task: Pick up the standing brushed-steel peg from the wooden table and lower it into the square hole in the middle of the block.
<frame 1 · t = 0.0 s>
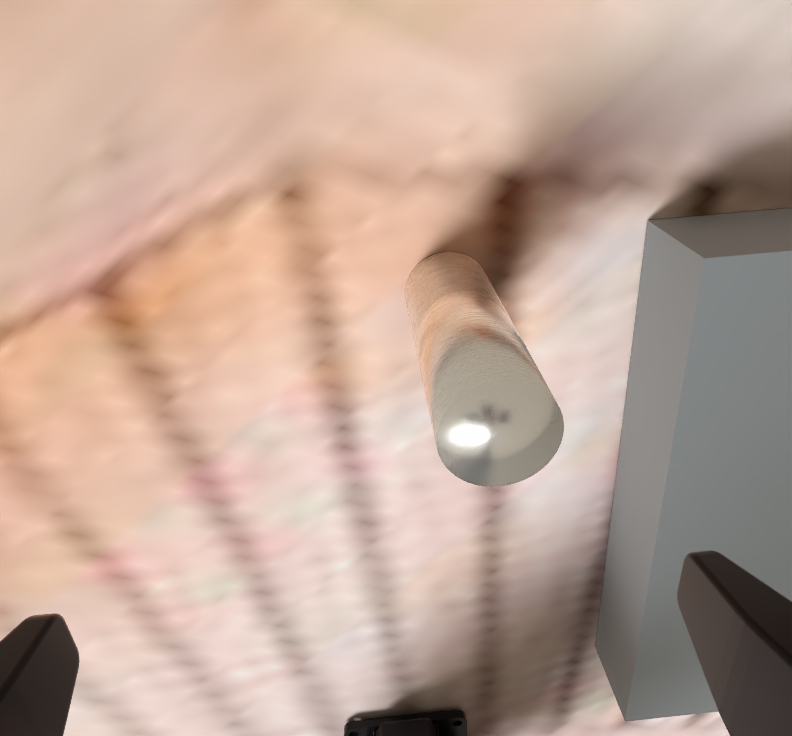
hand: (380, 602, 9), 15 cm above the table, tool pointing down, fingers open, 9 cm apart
steel peg: (447, 292, 23), on the table
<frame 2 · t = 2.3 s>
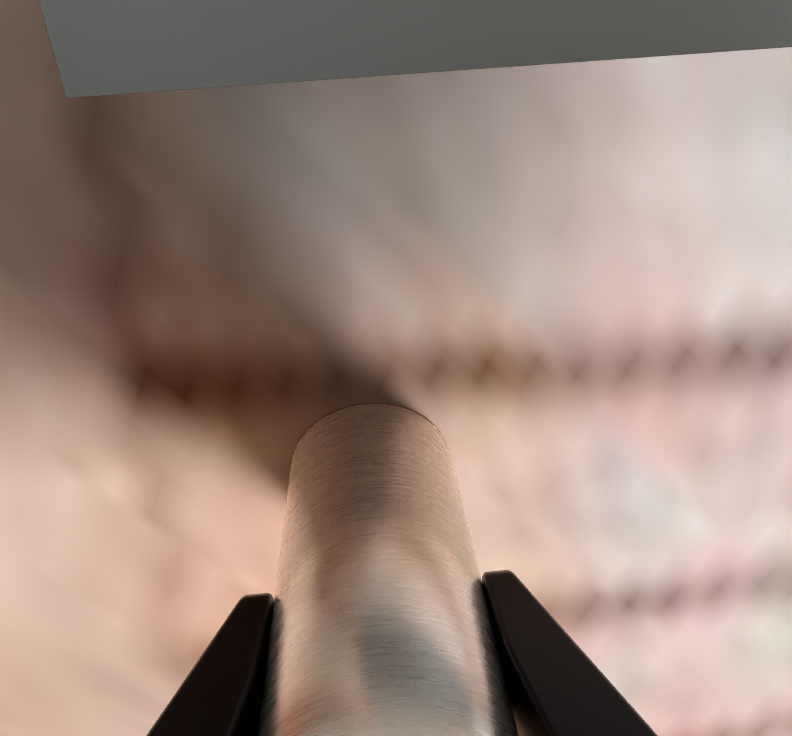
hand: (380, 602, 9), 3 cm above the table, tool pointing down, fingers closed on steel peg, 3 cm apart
steel peg: (372, 472, 12), on the table, touching gripper
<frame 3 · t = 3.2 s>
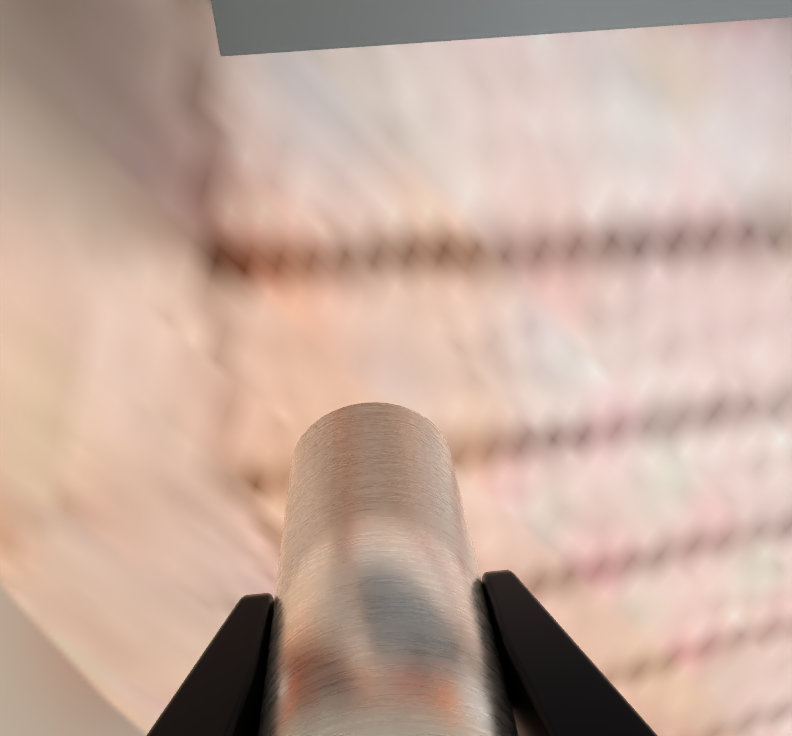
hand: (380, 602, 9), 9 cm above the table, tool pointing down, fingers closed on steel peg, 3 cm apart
steel peg: (372, 471, 12), point 6 cm above the table, touching gripper
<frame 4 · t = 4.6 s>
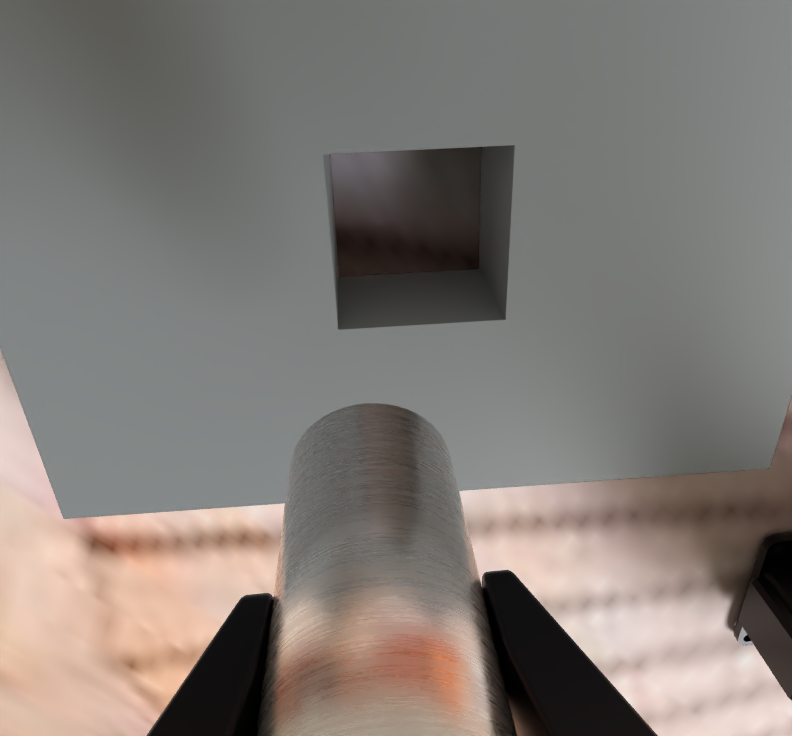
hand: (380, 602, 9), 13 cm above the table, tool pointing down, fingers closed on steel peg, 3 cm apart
hole block: (407, 202, 20), on the table
steel peg: (371, 471, 12), point 10 cm above the table, touching gripper
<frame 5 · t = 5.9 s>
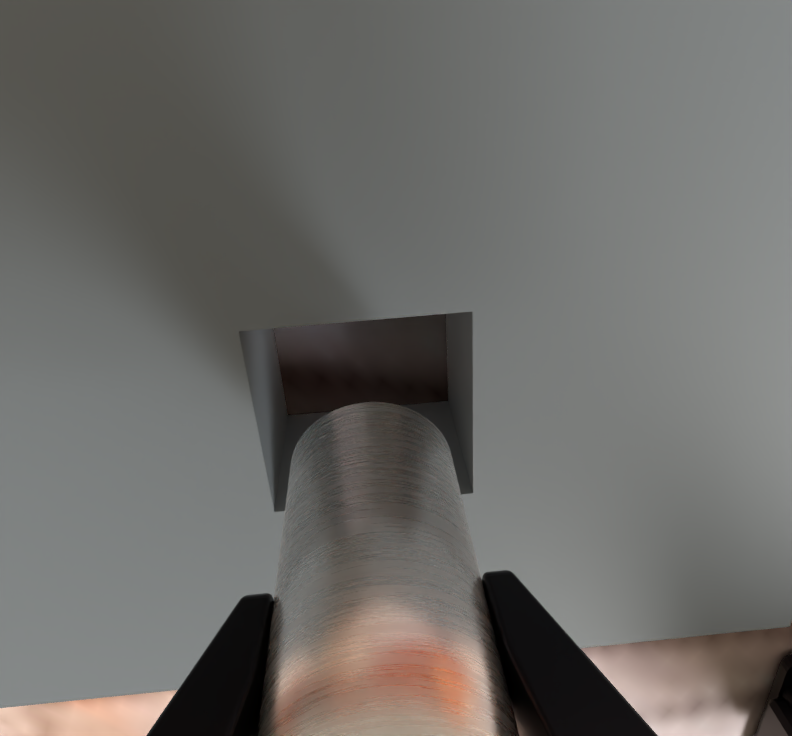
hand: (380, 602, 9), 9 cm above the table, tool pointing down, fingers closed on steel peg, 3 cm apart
hole block: (361, 335, 17), on the table
steel peg: (372, 470, 12), point 6 cm above the table, touching gripper
when the fingers open (5 cm above the table, at t = 7.0 s): steel peg drops 2 cm, resting in hole block.
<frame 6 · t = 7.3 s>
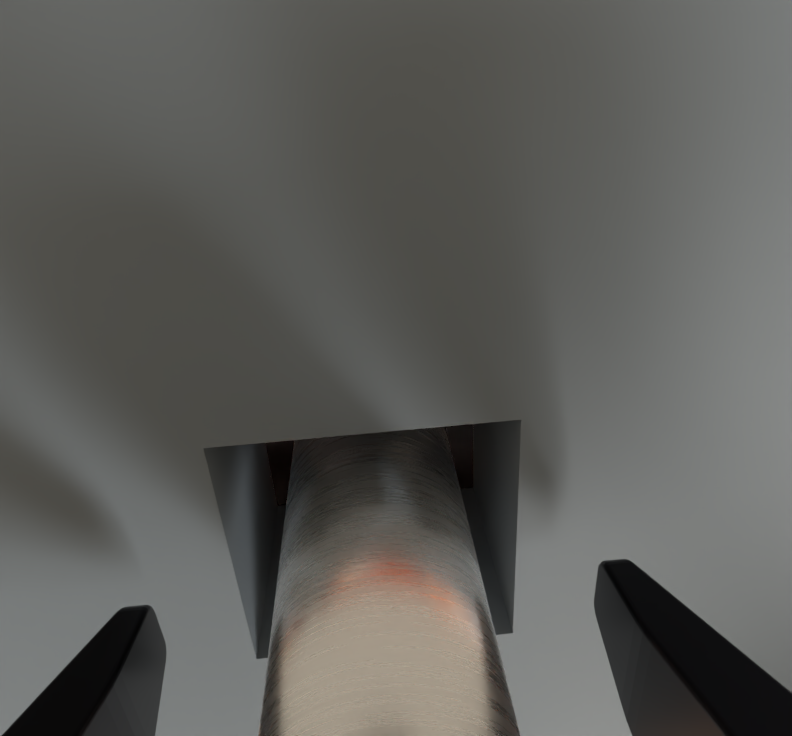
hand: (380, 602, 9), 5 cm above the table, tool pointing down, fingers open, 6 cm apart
hole block: (367, 414, 14), on the table
steel peg: (369, 413, 14), resting in hole block
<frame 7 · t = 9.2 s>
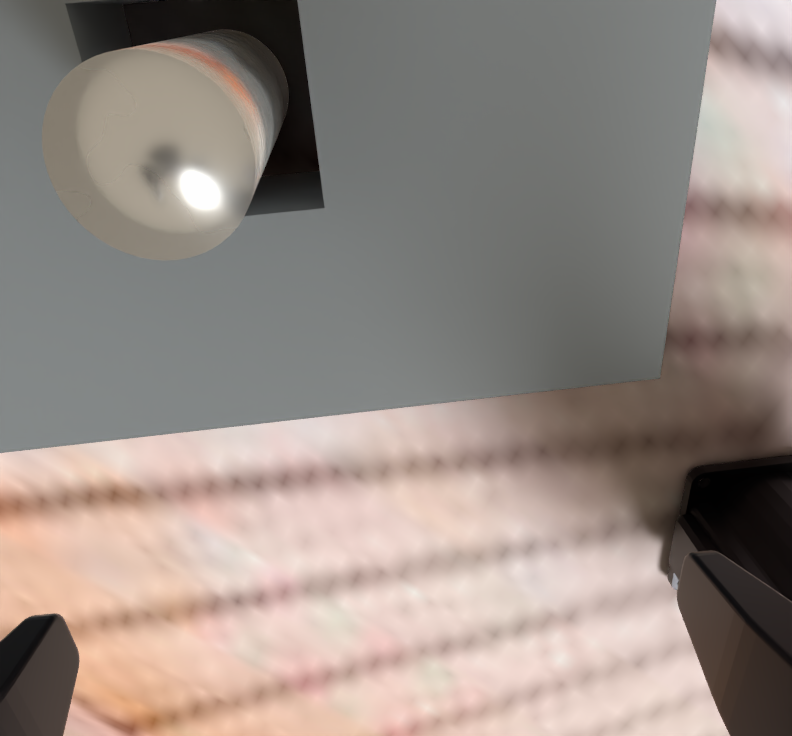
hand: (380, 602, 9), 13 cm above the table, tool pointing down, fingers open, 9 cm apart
hole block: (231, 93, 17), on the table
steel peg: (232, 92, 17), resting in hole block
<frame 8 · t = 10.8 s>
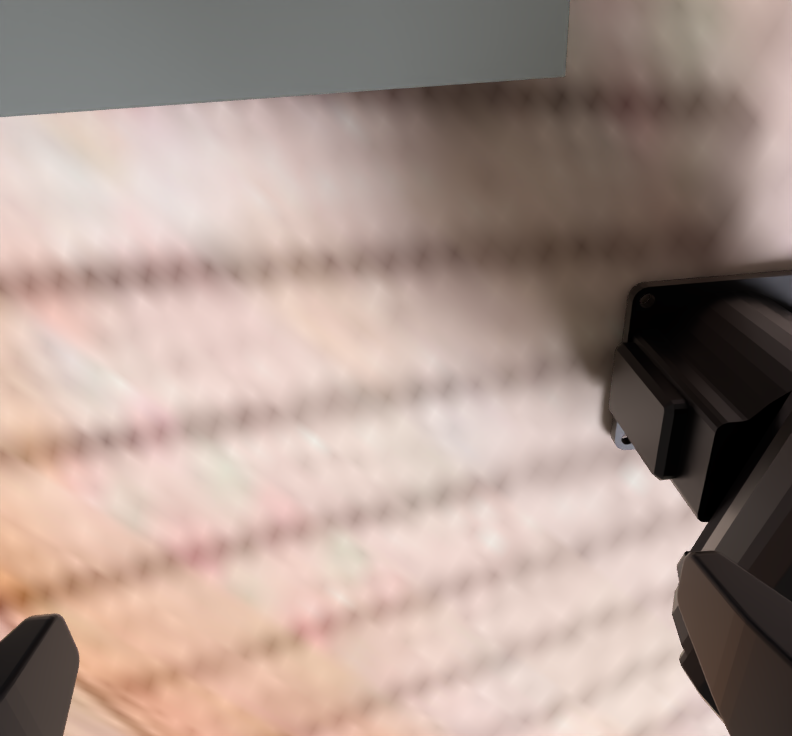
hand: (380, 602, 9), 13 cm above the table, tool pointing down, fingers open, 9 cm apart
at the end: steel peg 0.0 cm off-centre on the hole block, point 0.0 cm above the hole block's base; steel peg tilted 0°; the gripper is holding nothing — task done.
